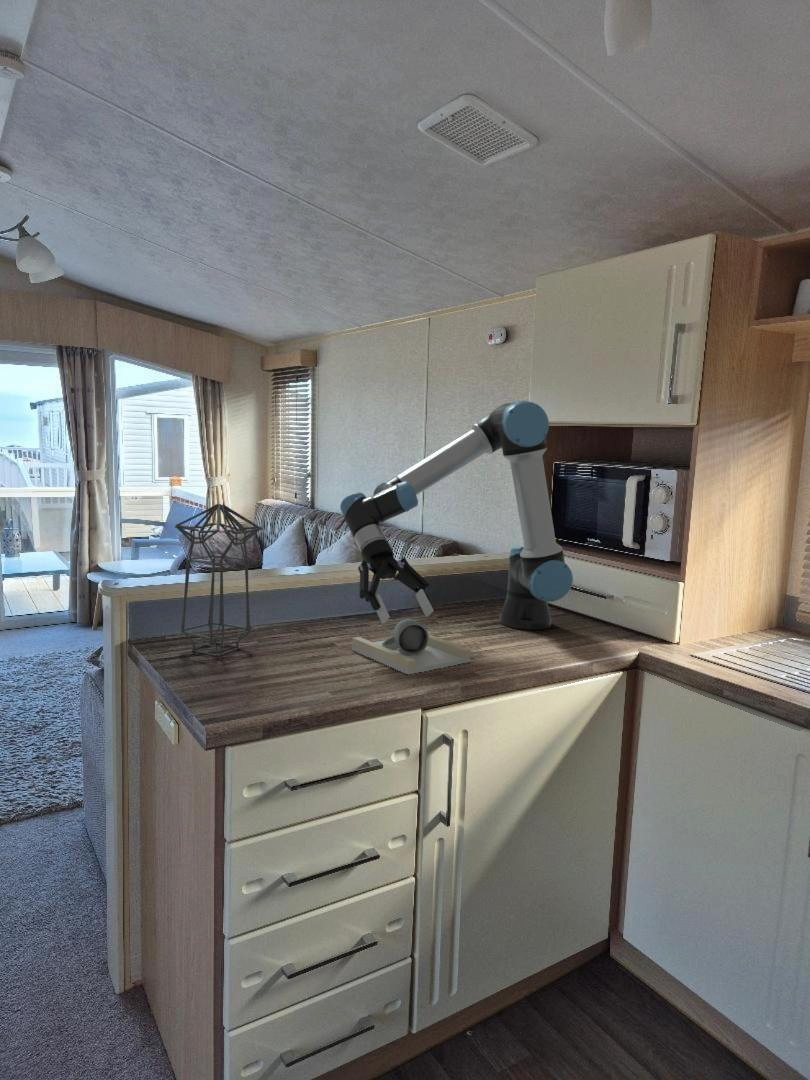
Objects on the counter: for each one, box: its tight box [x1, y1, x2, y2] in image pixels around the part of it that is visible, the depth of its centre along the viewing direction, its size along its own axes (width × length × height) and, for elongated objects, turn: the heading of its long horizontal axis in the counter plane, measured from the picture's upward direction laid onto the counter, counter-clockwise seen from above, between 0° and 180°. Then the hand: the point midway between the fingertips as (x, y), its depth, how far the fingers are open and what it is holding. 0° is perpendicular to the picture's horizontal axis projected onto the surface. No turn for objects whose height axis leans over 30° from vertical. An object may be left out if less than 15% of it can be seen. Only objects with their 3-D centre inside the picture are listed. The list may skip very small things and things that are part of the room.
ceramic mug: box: [382, 618, 430, 655], centre depth 174 cm, size 11×8×8 cm
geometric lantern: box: [174, 503, 263, 657], centre depth 170 cm, size 16×16×35 cm
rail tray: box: [351, 633, 472, 675], centre depth 174 cm, size 19×22×3 cm
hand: (408, 617), depth 173 cm, fingers open, 13 cm apart
